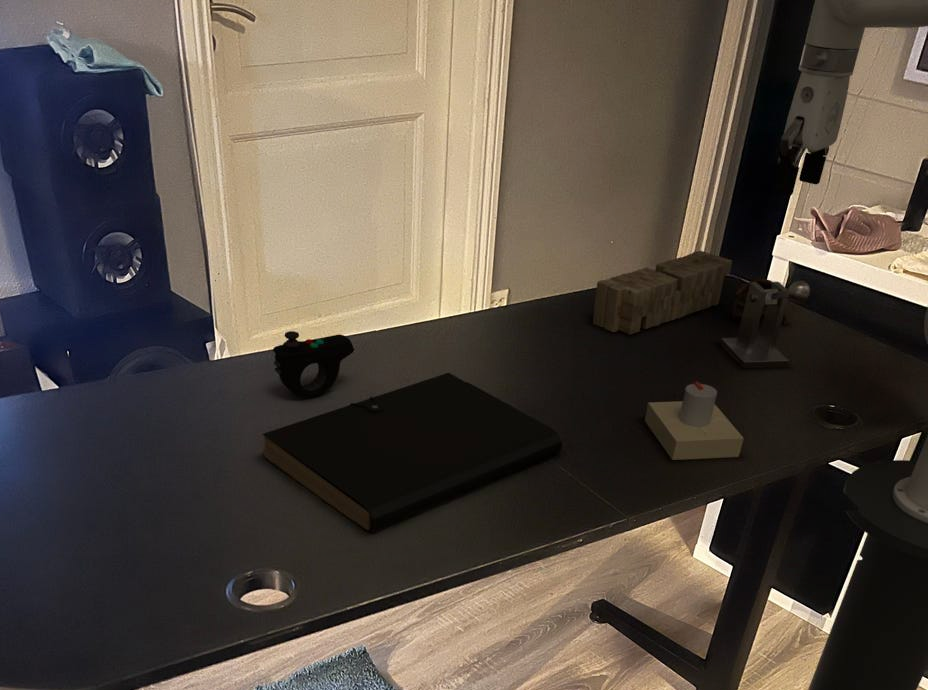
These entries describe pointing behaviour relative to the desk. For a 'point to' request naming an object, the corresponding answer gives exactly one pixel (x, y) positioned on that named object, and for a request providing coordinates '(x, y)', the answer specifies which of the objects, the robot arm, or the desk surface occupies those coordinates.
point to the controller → (310, 362)
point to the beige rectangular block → (692, 433)
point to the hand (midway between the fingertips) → (795, 188)
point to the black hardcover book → (408, 449)
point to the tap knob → (698, 404)
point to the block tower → (660, 292)
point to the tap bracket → (747, 345)
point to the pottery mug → (762, 282)
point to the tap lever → (788, 293)
